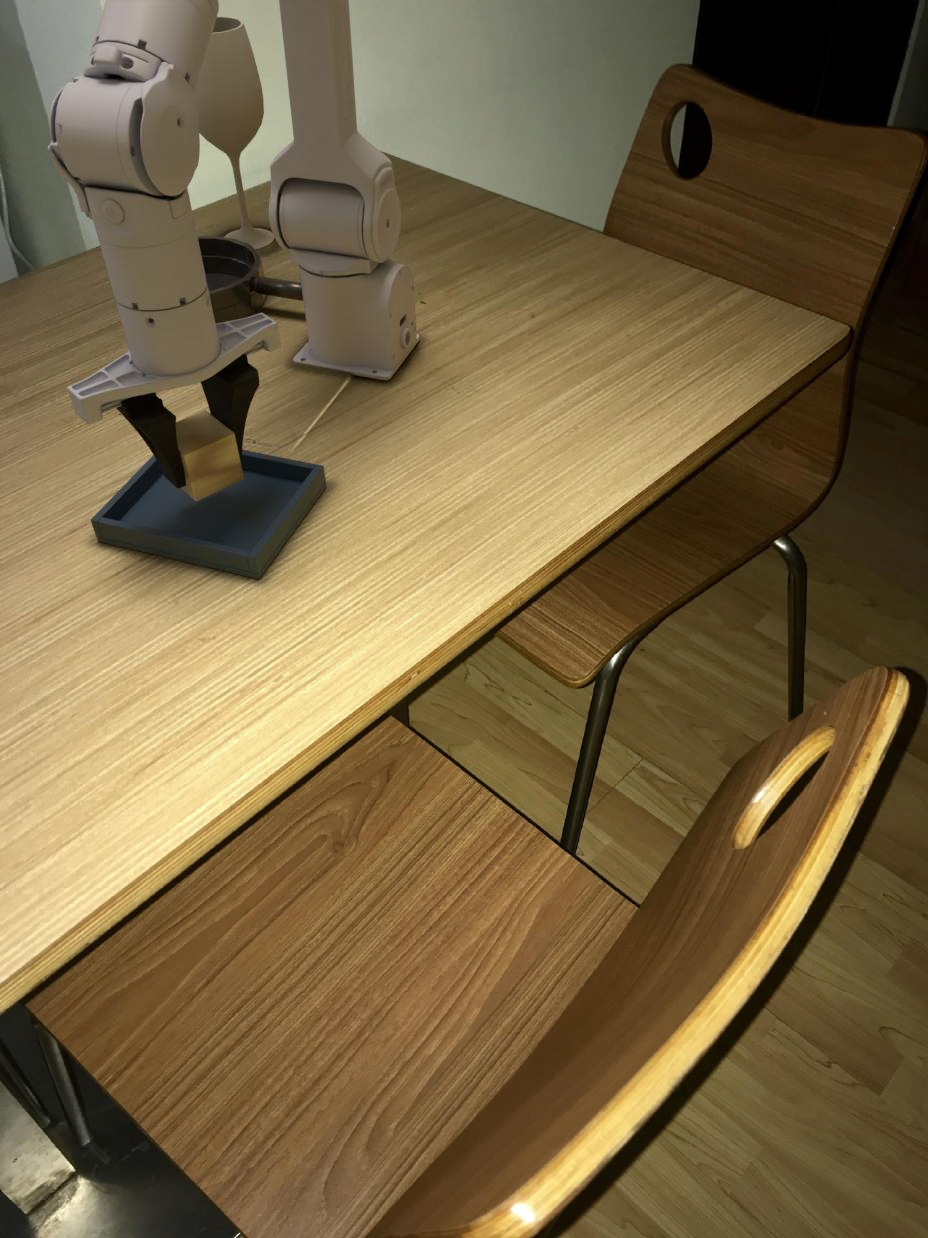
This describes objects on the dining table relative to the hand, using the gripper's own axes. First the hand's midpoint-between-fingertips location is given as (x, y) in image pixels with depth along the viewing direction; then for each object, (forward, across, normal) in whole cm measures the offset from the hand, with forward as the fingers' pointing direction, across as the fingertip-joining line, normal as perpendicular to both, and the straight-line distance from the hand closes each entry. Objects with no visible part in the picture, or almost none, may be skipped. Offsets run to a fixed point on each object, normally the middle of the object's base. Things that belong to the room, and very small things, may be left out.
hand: (204, 467), depth 72 cm
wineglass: (+4, -27, -39) cm, 48 cm away
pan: (+4, -16, -30) cm, 34 cm away
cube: (+1, 0, 0) cm, 1 cm away
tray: (+4, 0, 0) cm, 4 cm away
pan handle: (+2, -21, -21) cm, 30 cm away
